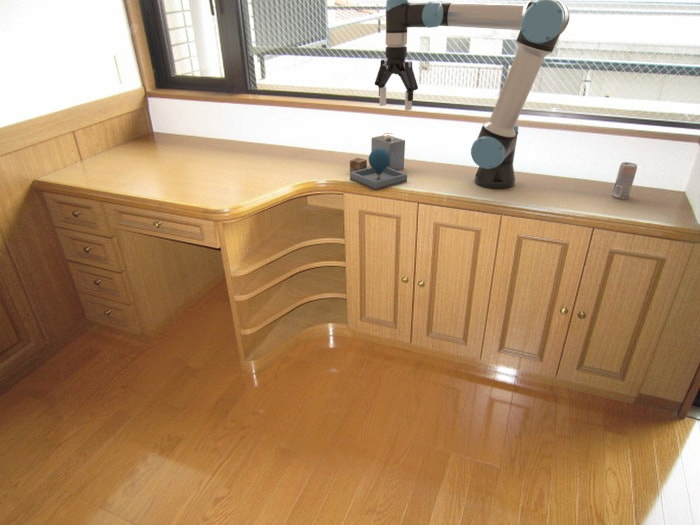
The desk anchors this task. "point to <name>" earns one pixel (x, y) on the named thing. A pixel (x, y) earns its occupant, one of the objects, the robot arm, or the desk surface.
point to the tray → (370, 180)
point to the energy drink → (624, 180)
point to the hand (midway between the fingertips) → (395, 107)
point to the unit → (391, 149)
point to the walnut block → (358, 164)
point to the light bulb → (379, 161)
